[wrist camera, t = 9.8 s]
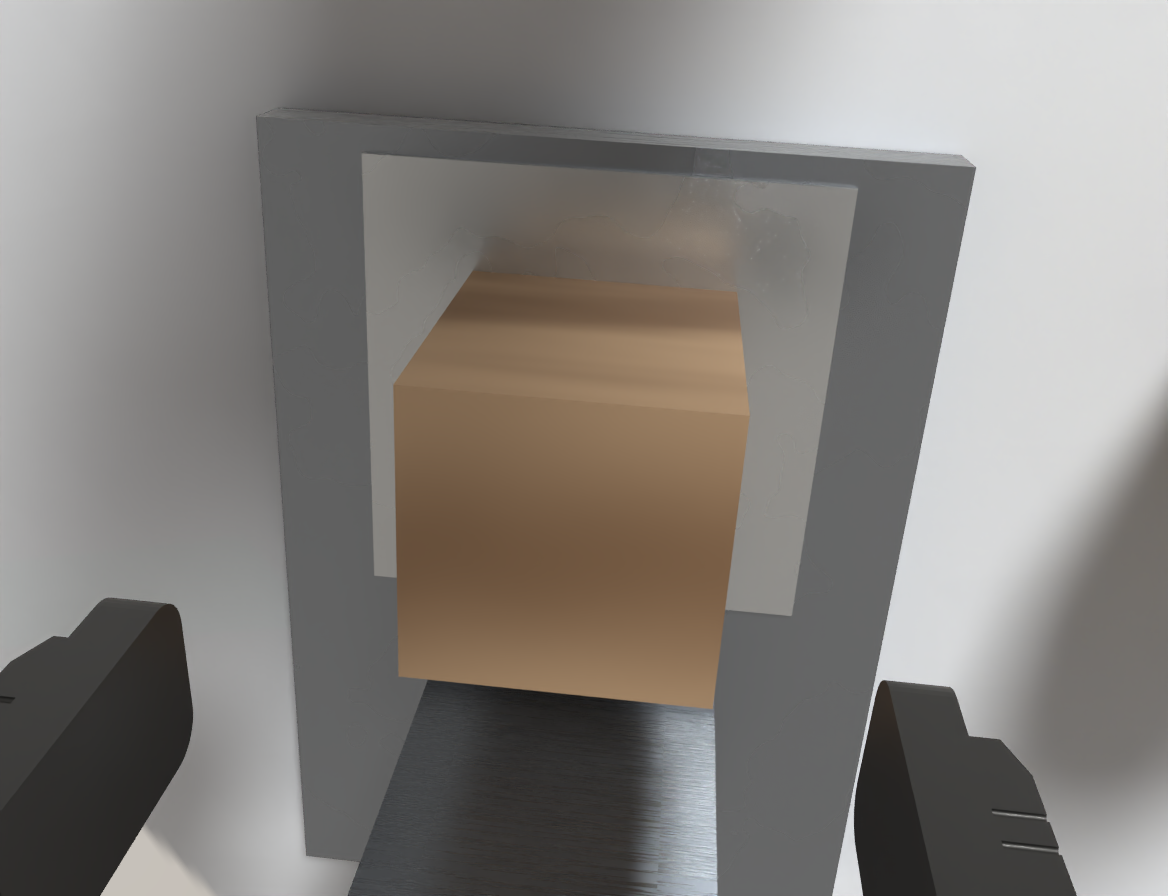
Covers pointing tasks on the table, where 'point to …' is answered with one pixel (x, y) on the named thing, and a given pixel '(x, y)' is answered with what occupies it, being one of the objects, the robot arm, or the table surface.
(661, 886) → the grey assembly fixture
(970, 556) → the table surface
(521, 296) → the block
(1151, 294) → the table surface
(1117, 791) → the table surface
